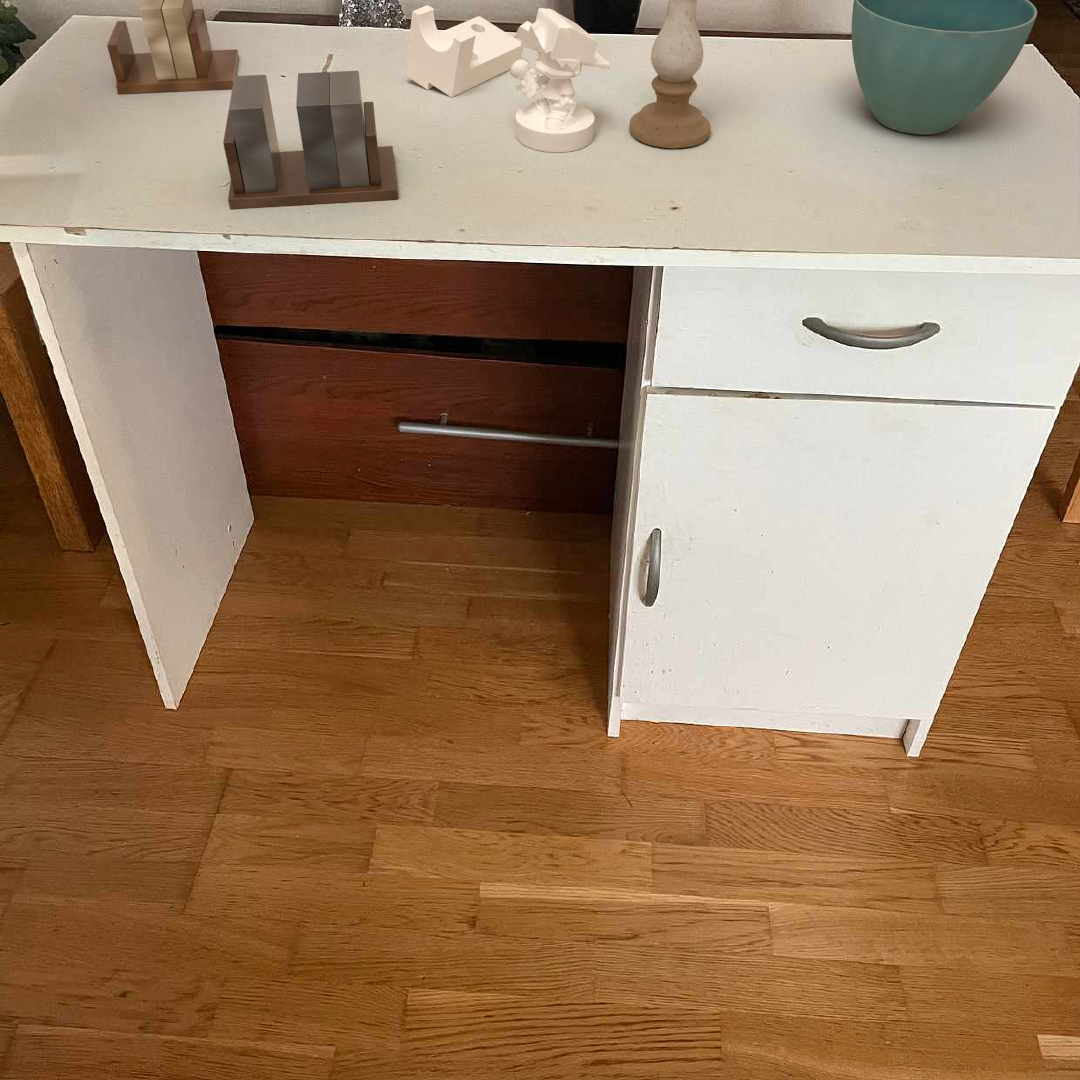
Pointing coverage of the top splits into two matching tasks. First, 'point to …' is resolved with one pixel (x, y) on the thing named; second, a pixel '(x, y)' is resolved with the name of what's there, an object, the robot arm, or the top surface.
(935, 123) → the plant pot
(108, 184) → the top surface
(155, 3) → the brown book rack
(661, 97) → the candle holder
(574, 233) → the top surface
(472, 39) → the bracket
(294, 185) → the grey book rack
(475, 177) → the top surface
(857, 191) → the top surface
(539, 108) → the character figurine
